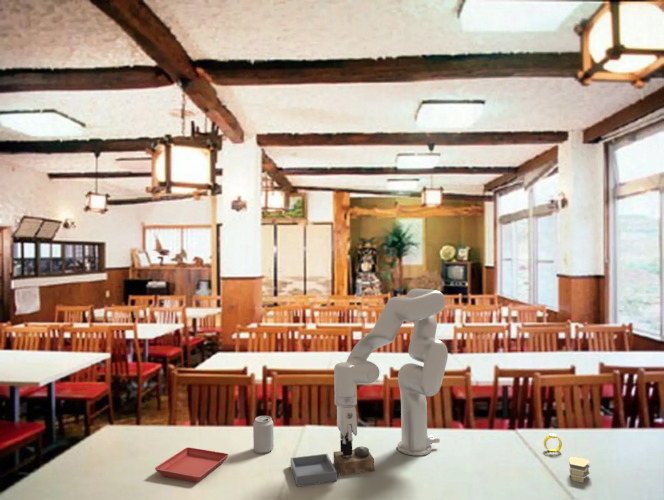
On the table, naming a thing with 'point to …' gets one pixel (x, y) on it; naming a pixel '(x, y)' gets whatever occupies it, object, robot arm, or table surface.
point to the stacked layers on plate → (579, 468)
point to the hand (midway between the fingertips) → (346, 452)
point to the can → (263, 434)
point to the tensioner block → (354, 461)
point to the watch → (553, 437)
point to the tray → (313, 469)
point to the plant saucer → (191, 464)
